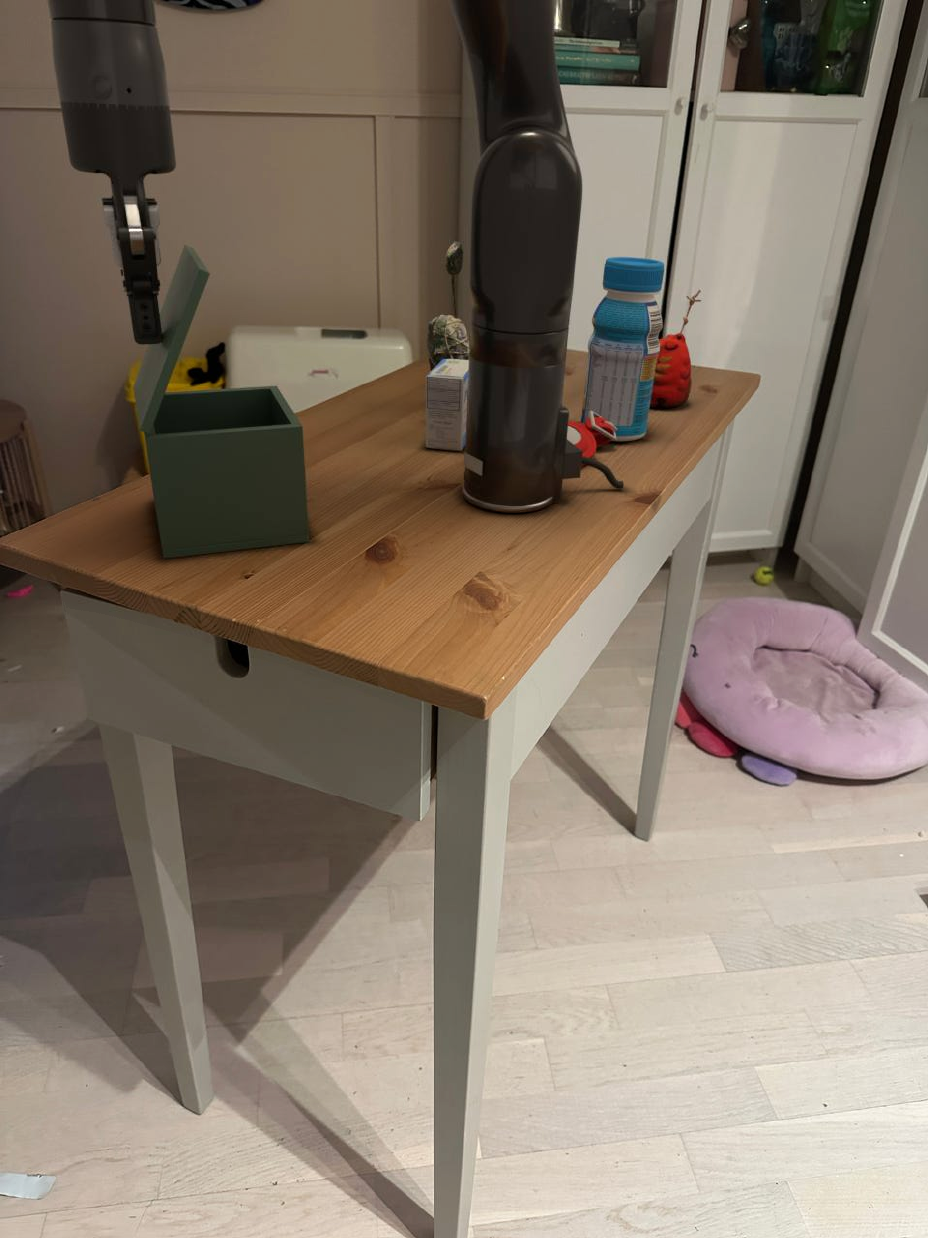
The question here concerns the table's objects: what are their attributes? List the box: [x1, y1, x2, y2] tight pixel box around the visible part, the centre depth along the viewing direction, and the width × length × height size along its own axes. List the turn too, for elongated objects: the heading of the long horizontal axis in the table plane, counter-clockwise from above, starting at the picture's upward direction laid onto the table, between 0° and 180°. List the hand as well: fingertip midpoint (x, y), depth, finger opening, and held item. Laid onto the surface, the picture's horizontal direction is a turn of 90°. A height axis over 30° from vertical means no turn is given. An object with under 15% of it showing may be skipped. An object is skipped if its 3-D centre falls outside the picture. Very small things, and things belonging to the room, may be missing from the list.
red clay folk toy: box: [649, 289, 702, 409], centre depth 118 cm, size 8×7×15 cm
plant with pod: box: [426, 241, 470, 372], centre depth 112 cm, size 8×11×20 cm
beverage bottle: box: [579, 256, 665, 442], centre depth 105 cm, size 8×8×20 cm
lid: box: [132, 244, 210, 434], centre depth 73 cm, size 13×13×1 cm
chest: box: [143, 385, 310, 560], centre depth 80 cm, size 13×13×11 cm
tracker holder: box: [567, 411, 617, 467], centre depth 103 cm, size 12×4×10 cm
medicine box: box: [425, 359, 469, 452], centre depth 103 cm, size 8×4×9 cm, turn 168°
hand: (148, 341), depth 73 cm, fingers closed
